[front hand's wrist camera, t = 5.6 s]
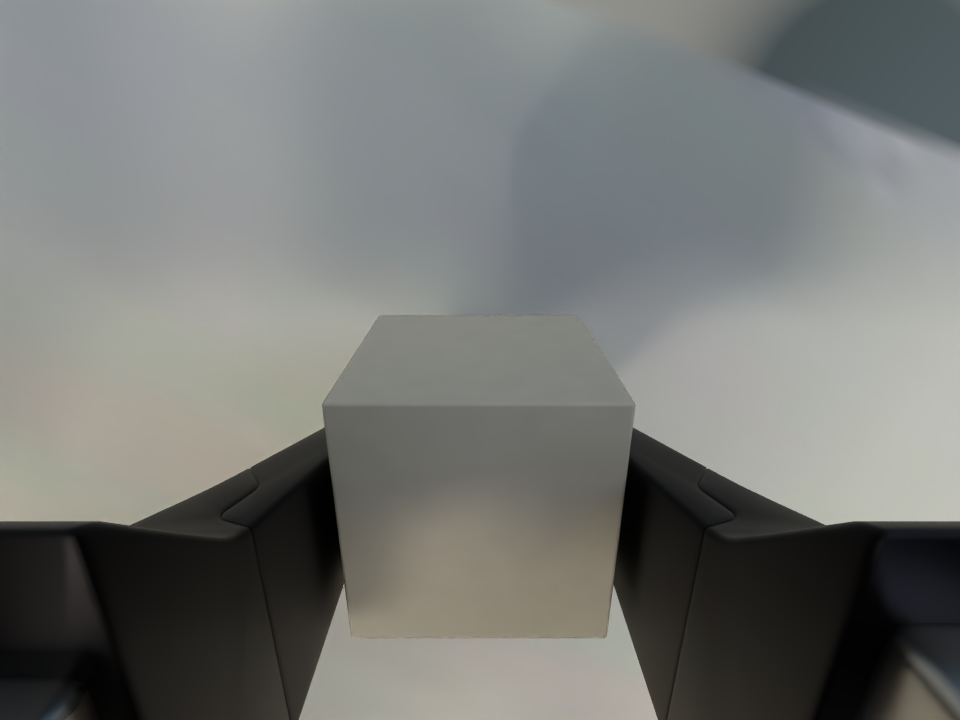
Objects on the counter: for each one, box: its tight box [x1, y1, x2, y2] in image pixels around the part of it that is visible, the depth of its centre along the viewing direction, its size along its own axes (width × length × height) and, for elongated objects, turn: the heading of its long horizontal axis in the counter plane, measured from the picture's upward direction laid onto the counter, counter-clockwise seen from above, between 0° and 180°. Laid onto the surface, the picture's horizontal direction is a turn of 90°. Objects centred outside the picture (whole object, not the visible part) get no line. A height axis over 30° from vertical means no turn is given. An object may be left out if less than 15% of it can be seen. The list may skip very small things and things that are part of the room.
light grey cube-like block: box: [322, 315, 635, 638], centre depth 10 cm, size 4×5×4 cm
